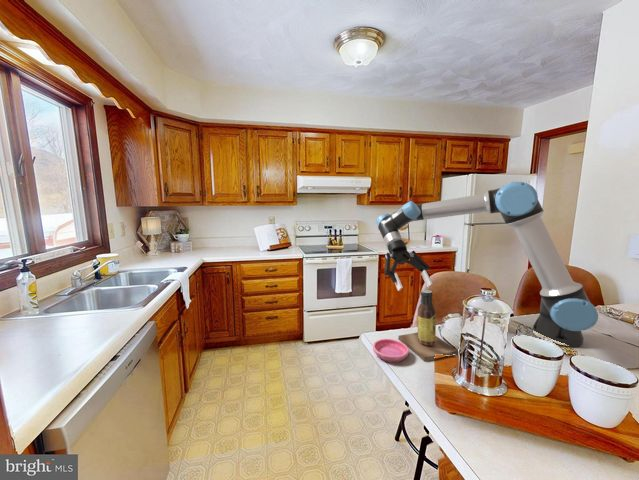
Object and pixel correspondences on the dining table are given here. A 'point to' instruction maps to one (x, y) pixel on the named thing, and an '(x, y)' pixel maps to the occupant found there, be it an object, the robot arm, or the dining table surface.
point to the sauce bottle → (426, 320)
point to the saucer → (390, 350)
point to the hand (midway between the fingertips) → (415, 287)
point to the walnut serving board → (426, 347)
